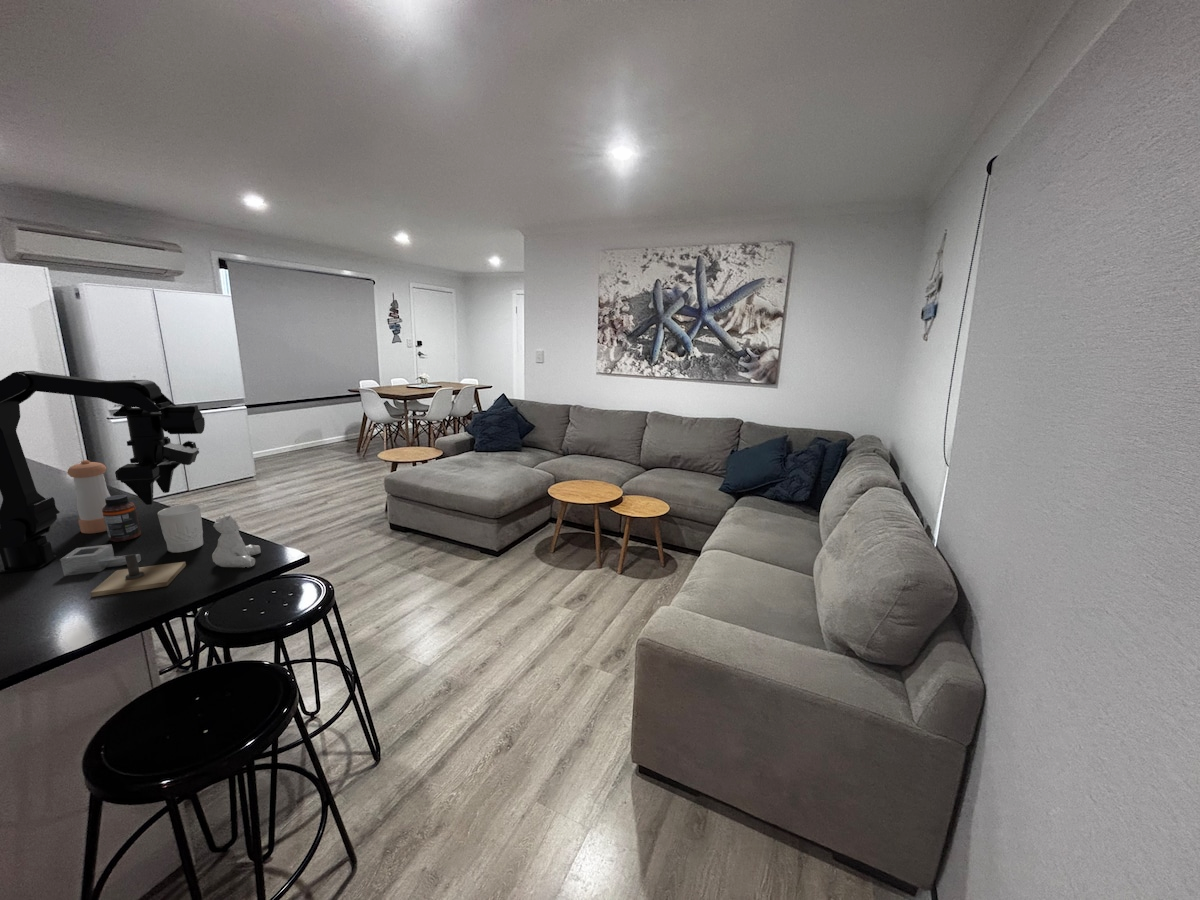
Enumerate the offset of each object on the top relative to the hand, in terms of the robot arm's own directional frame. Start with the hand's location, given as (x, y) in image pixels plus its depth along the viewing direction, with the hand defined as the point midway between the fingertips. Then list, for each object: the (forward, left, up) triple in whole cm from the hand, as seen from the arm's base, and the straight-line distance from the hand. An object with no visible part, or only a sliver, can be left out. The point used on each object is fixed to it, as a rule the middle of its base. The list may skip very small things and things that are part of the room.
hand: (158, 498), depth 111 cm
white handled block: (-9, -5, -14) cm, 17 cm away
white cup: (+3, +1, -14) cm, 14 cm away
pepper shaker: (-22, +23, -14) cm, 35 cm away
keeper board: (+1, -16, -14) cm, 21 cm away
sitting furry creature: (+17, -13, -14) cm, 25 cm away
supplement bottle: (-13, +13, -14) cm, 23 cm away
